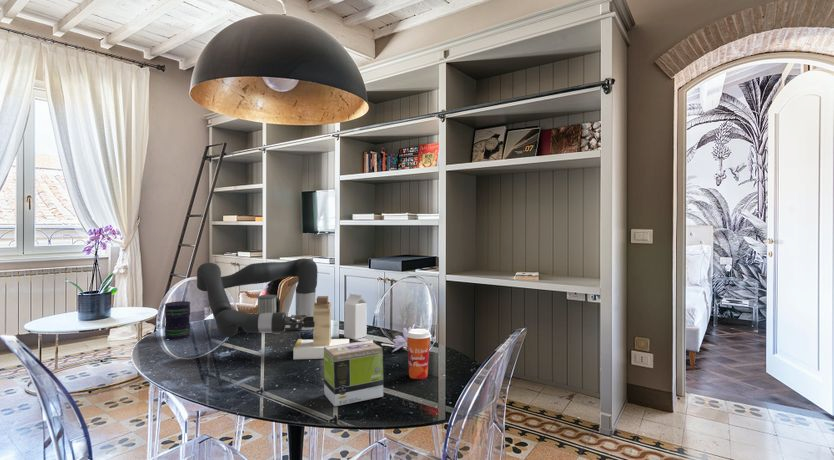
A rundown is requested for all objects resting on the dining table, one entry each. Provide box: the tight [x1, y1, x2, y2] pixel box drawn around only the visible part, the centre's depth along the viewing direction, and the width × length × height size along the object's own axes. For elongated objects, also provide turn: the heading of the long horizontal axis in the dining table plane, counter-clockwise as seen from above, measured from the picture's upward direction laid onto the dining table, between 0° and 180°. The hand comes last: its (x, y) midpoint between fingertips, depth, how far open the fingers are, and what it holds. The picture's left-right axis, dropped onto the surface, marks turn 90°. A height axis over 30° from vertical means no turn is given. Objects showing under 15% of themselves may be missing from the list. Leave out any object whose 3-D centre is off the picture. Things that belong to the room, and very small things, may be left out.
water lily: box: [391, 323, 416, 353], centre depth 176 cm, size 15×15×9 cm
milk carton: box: [343, 293, 368, 340], centre depth 195 cm, size 7×7×19 cm
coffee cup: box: [406, 328, 432, 380], centre depth 146 cm, size 8×8×15 cm
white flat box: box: [292, 338, 350, 360], centre depth 170 cm, size 12×20×4 cm, turn 97°
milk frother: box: [256, 294, 281, 314], centre depth 216 cm, size 14×16×15 cm
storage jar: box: [164, 300, 191, 341], centre depth 192 cm, size 10×10×15 cm
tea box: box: [323, 340, 384, 407], centre depth 129 cm, size 15×10×15 cm
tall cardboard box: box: [312, 301, 332, 346], centre depth 170 cm, size 6×6×16 cm
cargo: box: [316, 295, 329, 305], centre depth 170 cm, size 4×4×4 cm
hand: (315, 321), depth 170 cm, fingers open, 8 cm apart
